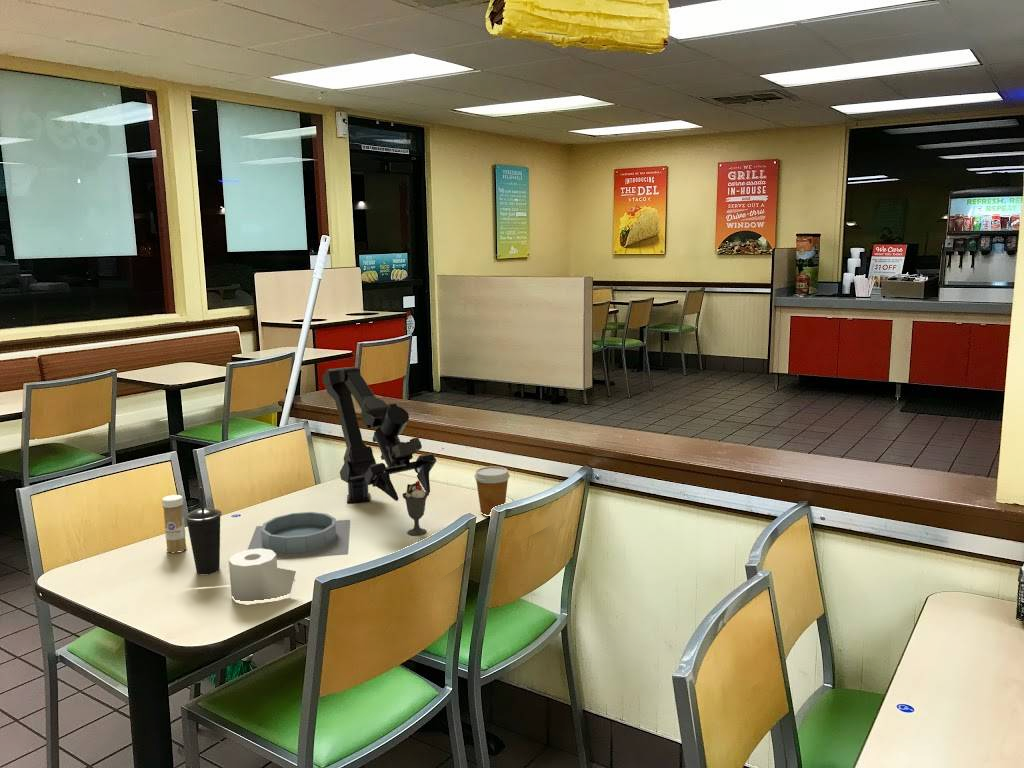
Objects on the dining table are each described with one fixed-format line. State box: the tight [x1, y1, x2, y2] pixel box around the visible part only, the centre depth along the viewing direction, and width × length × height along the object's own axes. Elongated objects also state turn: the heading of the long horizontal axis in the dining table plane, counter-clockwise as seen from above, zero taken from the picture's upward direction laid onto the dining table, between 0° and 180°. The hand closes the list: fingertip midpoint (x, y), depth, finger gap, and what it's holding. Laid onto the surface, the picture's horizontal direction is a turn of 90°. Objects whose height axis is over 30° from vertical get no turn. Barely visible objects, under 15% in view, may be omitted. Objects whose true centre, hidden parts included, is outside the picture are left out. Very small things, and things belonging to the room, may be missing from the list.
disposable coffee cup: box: [473, 465, 511, 515], centre depth 215 cm, size 10×10×12 cm
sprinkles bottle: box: [161, 494, 188, 553], centre depth 192 cm, size 5×5×14 cm
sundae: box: [402, 477, 430, 537], centre depth 202 cm, size 7×7×15 cm
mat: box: [246, 519, 351, 561], centre depth 198 cm, size 24×24×1 cm
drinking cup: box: [184, 486, 222, 575], centre depth 179 cm, size 8×8×20 cm
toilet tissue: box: [228, 548, 297, 601], centre depth 168 cm, size 9×13×9 cm
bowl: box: [261, 511, 337, 554], centre depth 198 cm, size 18×18×4 cm
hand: (413, 496), depth 203 cm, fingers open, 9 cm apart
